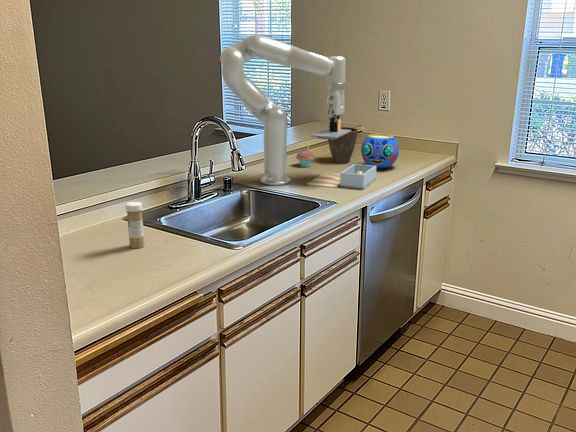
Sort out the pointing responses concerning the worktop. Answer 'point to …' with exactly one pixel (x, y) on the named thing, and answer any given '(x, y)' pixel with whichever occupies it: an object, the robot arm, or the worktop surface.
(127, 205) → the sprinkles bottle
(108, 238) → the worktop surface
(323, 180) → the mat
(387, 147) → the ceramic pot
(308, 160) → the cupcake
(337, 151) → the plant pot
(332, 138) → the lid
